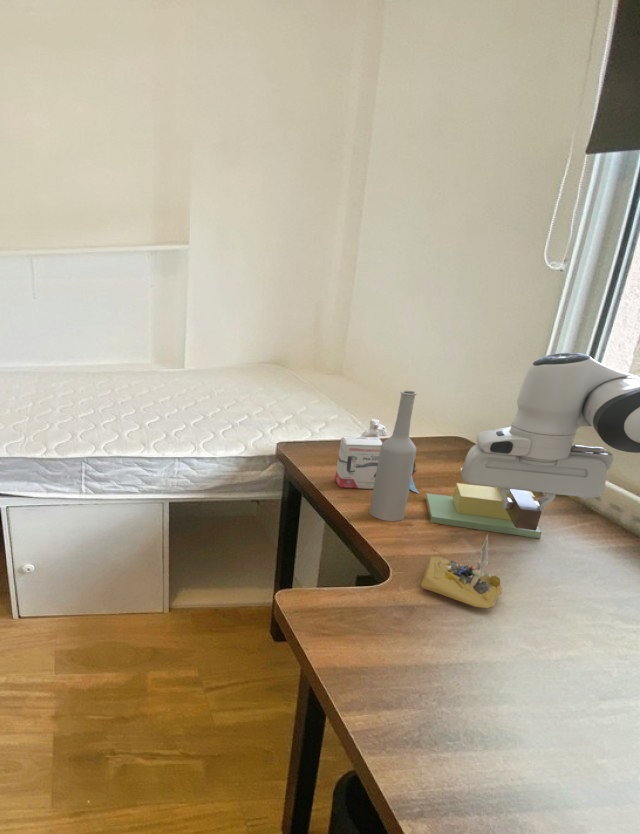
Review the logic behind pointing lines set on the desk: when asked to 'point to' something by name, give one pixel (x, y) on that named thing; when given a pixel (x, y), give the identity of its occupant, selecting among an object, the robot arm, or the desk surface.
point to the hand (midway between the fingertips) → (520, 509)
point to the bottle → (395, 466)
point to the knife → (412, 481)
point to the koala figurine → (375, 430)
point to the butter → (479, 501)
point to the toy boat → (463, 580)
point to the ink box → (358, 462)
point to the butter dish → (470, 518)
